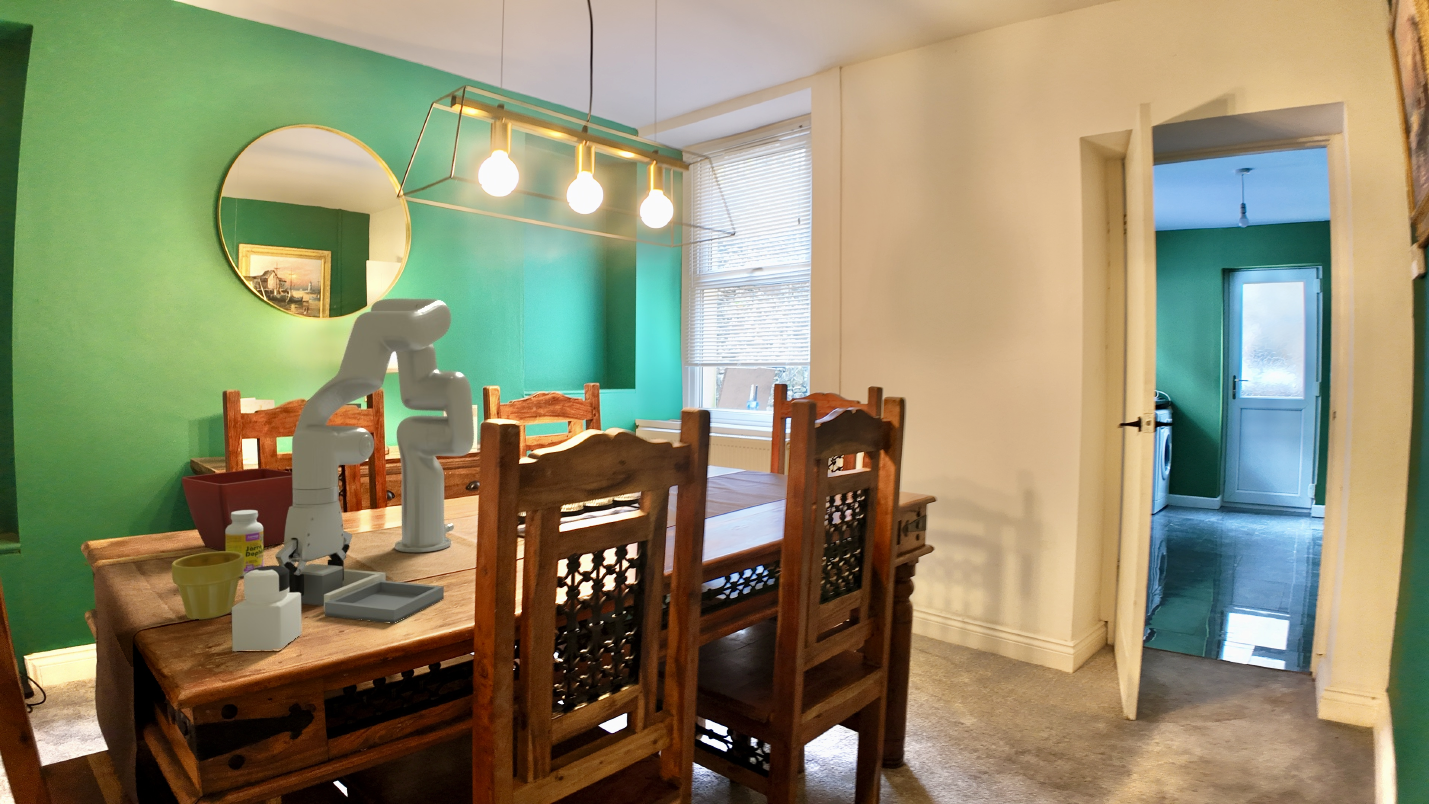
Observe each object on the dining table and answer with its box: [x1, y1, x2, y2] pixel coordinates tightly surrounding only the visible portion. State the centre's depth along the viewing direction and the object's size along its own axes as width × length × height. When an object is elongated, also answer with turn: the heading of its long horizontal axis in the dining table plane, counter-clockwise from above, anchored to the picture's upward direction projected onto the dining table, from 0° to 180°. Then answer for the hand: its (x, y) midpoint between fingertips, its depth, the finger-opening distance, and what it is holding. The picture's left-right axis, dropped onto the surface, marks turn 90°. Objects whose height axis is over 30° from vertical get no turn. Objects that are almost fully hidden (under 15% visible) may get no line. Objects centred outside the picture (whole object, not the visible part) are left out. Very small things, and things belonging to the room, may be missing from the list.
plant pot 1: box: [181, 467, 293, 551], centre depth 177 cm, size 19×19×17 cm
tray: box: [324, 580, 445, 624], centre depth 134 cm, size 14×14×2 cm
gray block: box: [301, 563, 344, 607], centre depth 137 cm, size 5×7×6 cm
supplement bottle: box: [225, 510, 264, 578], centre depth 154 cm, size 7×7×13 cm
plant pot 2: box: [171, 550, 244, 621], centre depth 129 cm, size 10×10×10 cm
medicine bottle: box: [230, 564, 302, 652], centre depth 116 cm, size 7×7×12 cm
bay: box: [323, 568, 387, 612], centre depth 140 cm, size 15×14×3 cm
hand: (316, 588), depth 137 cm, fingers open, 9 cm apart
